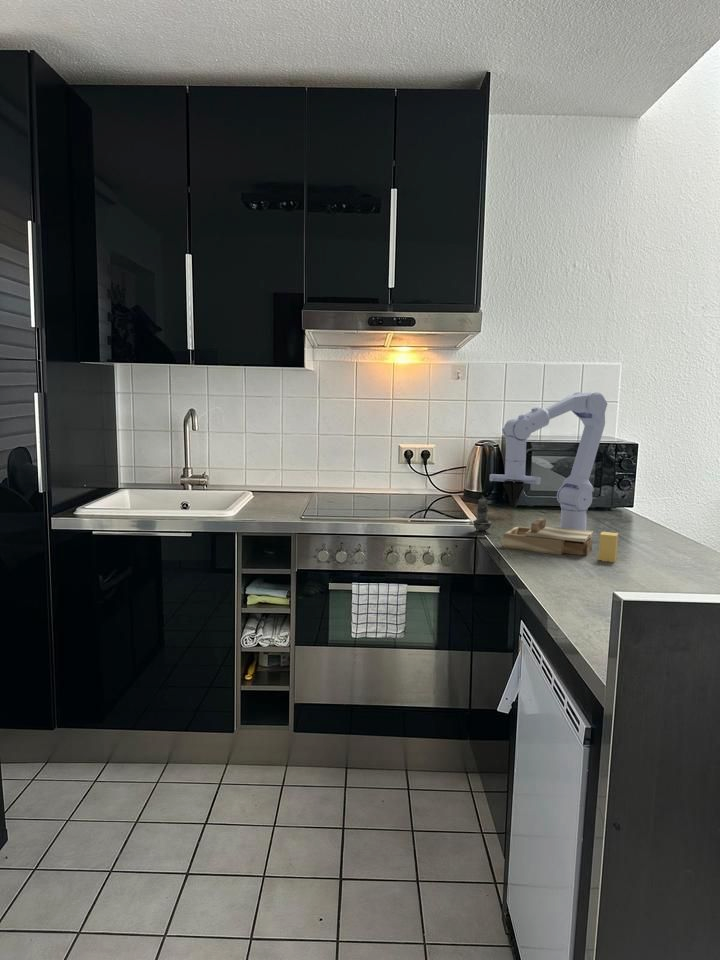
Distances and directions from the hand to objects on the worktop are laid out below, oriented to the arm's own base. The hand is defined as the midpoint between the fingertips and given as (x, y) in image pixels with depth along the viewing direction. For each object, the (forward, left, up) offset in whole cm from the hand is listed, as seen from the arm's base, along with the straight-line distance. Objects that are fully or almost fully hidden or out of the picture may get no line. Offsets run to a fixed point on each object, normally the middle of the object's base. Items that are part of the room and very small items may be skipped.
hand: (513, 507), depth 191 cm
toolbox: (+3, +11, -10) cm, 15 cm away
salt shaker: (-8, -12, -11) cm, 18 cm away
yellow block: (+8, +28, -10) cm, 31 cm away
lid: (+2, +14, -6) cm, 16 cm away
